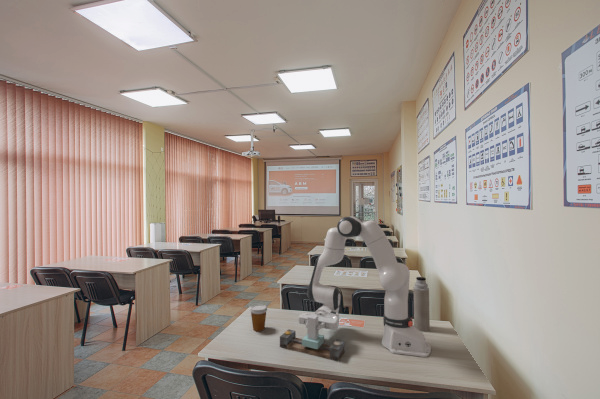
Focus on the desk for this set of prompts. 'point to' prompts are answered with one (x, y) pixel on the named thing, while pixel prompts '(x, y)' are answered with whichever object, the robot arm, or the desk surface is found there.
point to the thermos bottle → (421, 305)
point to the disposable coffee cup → (258, 317)
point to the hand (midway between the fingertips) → (312, 327)
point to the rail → (324, 350)
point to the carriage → (312, 333)
